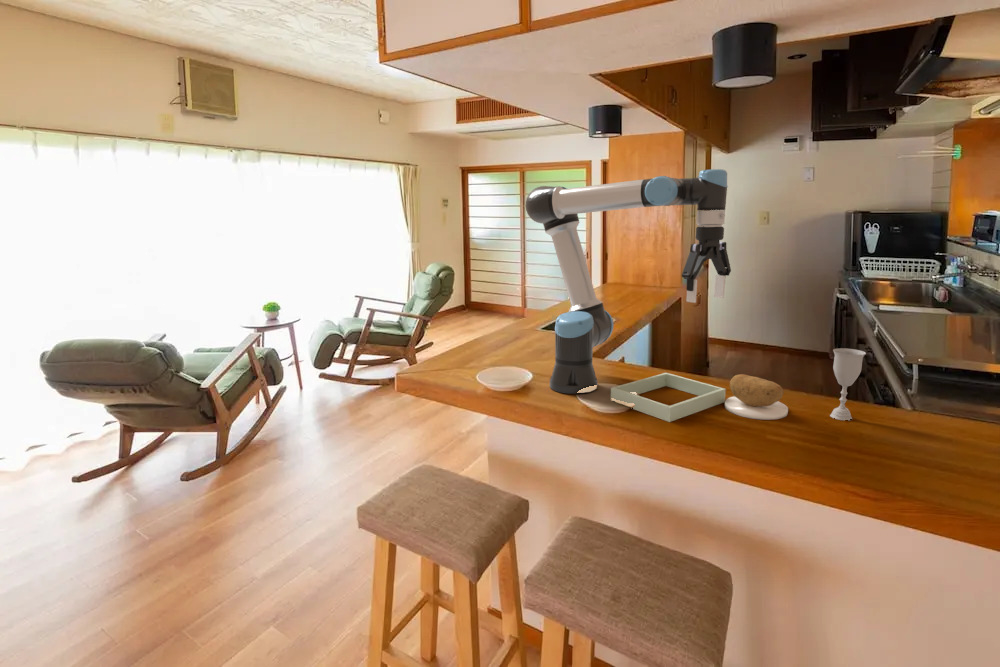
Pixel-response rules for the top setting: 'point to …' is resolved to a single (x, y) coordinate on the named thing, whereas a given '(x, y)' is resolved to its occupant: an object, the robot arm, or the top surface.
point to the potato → (755, 390)
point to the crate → (705, 392)
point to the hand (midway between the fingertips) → (705, 299)
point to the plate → (756, 409)
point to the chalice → (846, 376)
